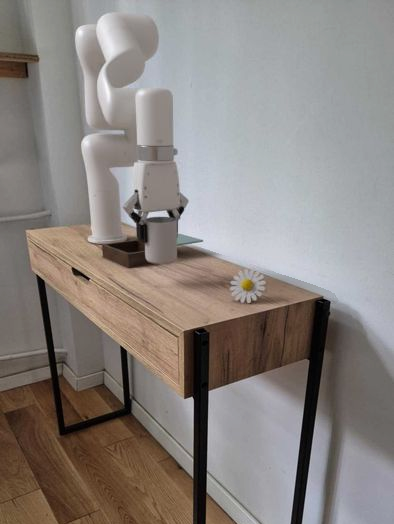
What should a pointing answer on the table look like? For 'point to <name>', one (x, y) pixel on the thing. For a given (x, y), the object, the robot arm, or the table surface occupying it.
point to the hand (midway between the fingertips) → (157, 238)
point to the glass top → (186, 240)
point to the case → (126, 253)
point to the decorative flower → (247, 285)
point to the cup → (161, 240)
